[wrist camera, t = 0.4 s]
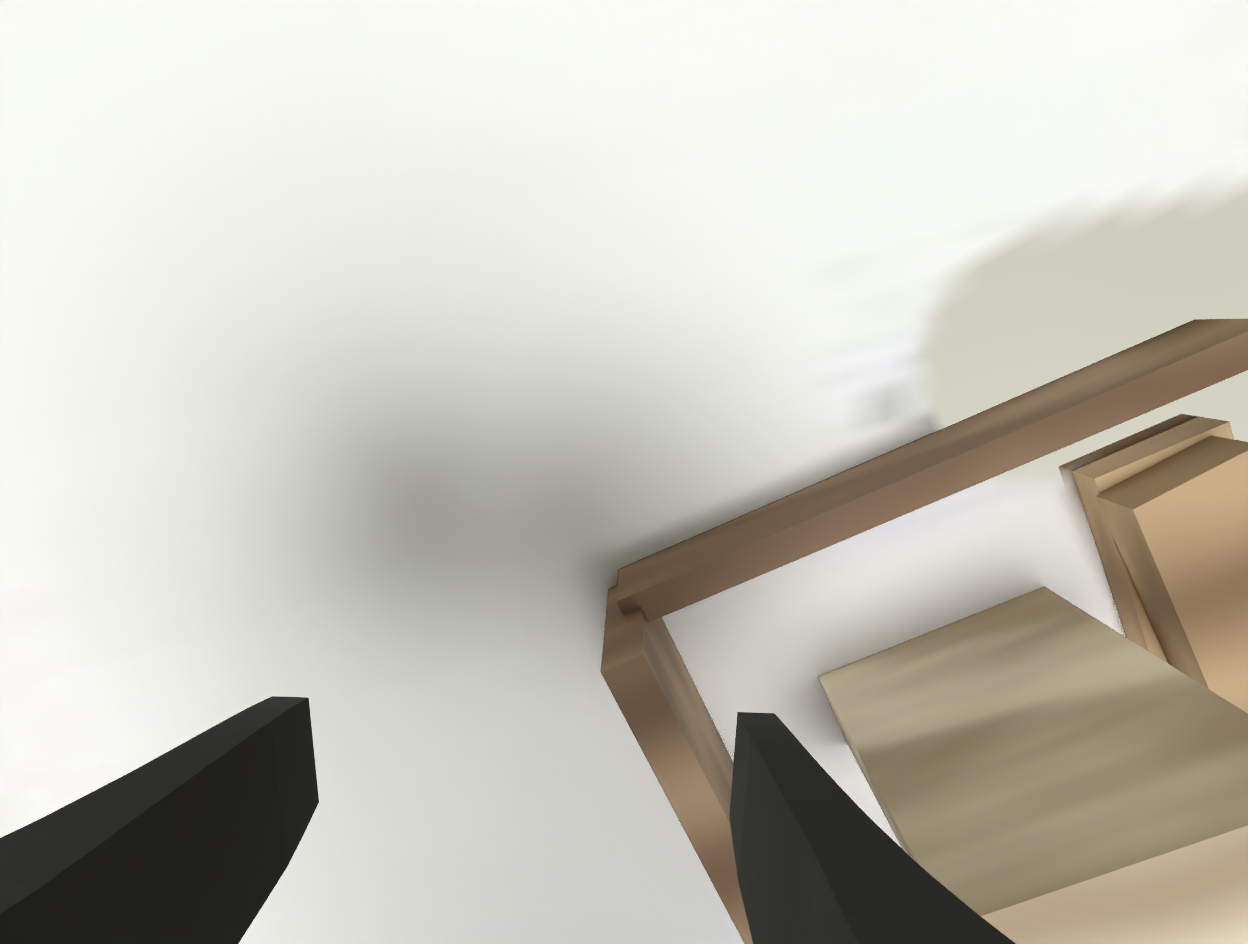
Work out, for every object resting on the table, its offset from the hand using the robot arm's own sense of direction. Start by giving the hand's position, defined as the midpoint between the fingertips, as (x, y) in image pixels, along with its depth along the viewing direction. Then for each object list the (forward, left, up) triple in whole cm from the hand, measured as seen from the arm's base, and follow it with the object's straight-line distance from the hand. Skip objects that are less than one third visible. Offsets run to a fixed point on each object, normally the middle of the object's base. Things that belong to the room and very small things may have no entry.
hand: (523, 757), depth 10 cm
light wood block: (-9, -10, -10) cm, 17 cm away
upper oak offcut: (-9, -18, -9) cm, 22 cm away
